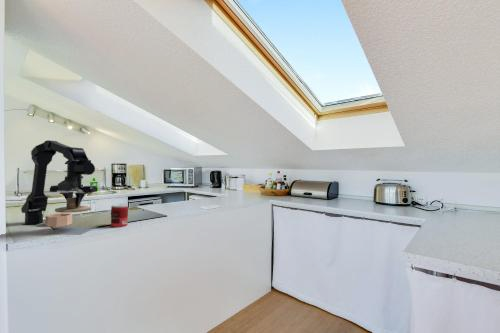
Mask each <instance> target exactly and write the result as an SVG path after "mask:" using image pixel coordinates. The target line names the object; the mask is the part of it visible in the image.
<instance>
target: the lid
mask: <svg viewBox="0 0 500 333" xmlns="http://www.w3.org/2000/svg"><path fill="white" fill-rule="evenodd" d="M91 210H92V207H91V206H86V205H81V203H80V204H79V206H78V207H76V196H73V197H72V198H67V201H66V206H63V207H58V208H54V211H55V213H81V212H87V211H91Z"/></svg>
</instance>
